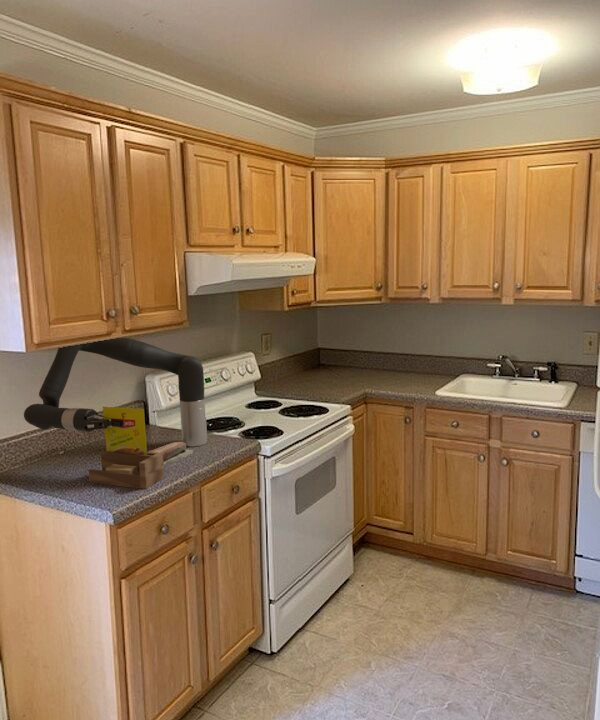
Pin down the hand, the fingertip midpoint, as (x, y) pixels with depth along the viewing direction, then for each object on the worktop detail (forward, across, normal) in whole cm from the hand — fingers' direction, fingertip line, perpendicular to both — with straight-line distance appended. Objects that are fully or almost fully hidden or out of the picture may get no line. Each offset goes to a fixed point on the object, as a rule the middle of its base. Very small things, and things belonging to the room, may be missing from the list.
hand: (124, 422), depth 189 cm
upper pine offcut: (+1, -4, +16) cm, 16 cm away
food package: (0, 0, +15) cm, 15 cm away
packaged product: (+3, +19, +18) cm, 26 cm away
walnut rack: (+2, -3, +18) cm, 18 cm away
